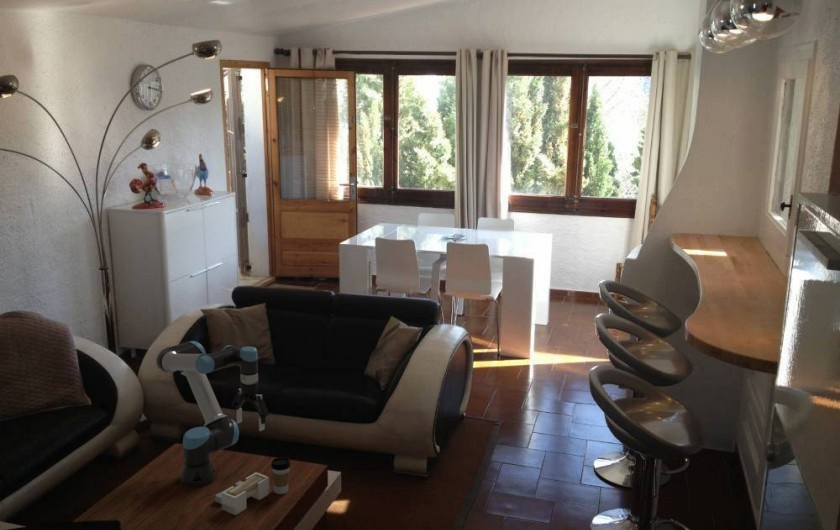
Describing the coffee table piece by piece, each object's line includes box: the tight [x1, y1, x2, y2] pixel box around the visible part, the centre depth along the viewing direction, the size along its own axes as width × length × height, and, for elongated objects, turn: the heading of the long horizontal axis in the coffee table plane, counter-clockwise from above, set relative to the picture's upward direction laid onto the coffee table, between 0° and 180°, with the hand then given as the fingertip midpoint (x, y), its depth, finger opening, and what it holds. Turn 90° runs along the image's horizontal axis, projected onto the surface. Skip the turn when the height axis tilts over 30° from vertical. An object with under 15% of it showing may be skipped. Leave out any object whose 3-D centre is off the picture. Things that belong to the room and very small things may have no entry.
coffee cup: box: [270, 456, 291, 495], centre depth 334 cm, size 8×8×15 cm
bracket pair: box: [221, 472, 271, 516], centre depth 325 cm, size 8×21×8 cm, turn 149°
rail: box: [229, 476, 262, 500], centre depth 325 cm, size 4×16×5 cm, turn 149°
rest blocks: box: [214, 480, 244, 505], centre depth 330 cm, size 5×15×3 cm, turn 149°
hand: (250, 426), depth 333 cm, fingers open, 13 cm apart
